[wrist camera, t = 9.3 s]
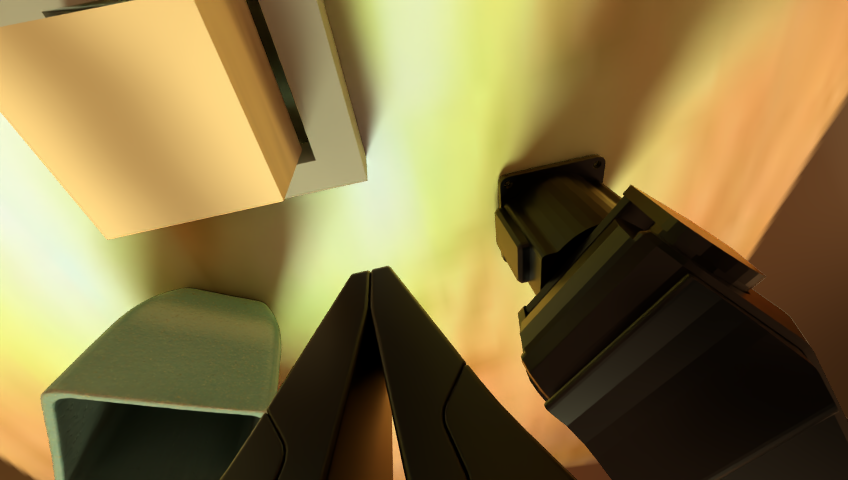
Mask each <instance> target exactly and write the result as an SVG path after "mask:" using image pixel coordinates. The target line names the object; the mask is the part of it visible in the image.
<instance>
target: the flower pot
mask: <svg viewBox="0 0 848 480" xmlns="http://www.w3.org/2000/svg"><path fill="white" fill-rule="evenodd" d="M280 358H281V334H280V330H279V326H278V323H277V320H276V318H275V316H274V314H273V313H272V311H271V310H270V309H269V307H268V306H267V305H266V304H265V303H263V302H260V301H255V300H250V299H244V298H239V297H234V296H228V295H223V294H218V293H214V292H209V291H204V290H199V289H194V288H182V289H178V290H173V291H169V292H166V293H163V294H160V295H157V296H155V297H153V298H150V299H148V300H146V301H144V302H142V303H141V304H139V305H137V306H136V307H134V308H133V309H131V310H130V311H128V312H127V313H126V314H124V315H123V316H122V317H120V318H119V319H118V320H117V321H116V322H115V323H113V324H112V325H111V326H110V327H109V328H108V329H107V330H106V331H105V332H104V333H103V334H102V335H101V336H100V337H99V338H98V339H97V340H96V341H95V342H94V343H93V344H92V345H91V346H89V347H88V348H87V349H86V350H85V351H84V352H83V353H82V354H81V355H80V356H79V357H78V358H77V359H76V360H75V361H74V362H73V363H72V364H71V365H70V366H69V367H68V368H67V369H66V370H65V371H64V372H63V373H62V374H61V375H60V376H59V377H58V378H57V379H56V380H55V381H54V382H53V383H52V384H51V385H50V386H49V387H48V388H47V389H46V390H45V391H44V392H43V393H42V394H41V405H42V410H43V415H44V420H45V425H46V428H47V429H46V430H47V435H48V438H49V444H50V445H49V446H50V451H51V454H52V461H53V470H54V477H55V480H220V478H221V477H222V476H223V474H224V473H225V472H226V470H227V469H228V467H229V466H230V464H231V463H232V461H233V460H234V458H235V457H236V455H237V454H238V452H239V451H240V449H241V448H242V446H243V445H244V443H245V442H246V440H247V439H248V437H249V436H250V434H251V433H252V431H253V429H254V428H255V426H256V425H257V423H258V421H259V420H260V418H261V417H262V415H263V414H264V413H267V411H266V410H267V407H268V406H269V404H270V403H271V401H272V400H273V398H274V396H275V395H276V393H277V390H278V380H279V369H280ZM267 414H268V413H267Z"/></svg>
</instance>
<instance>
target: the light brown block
mask: <svg viewBox="0 0 848 480" xmlns="http://www.w3.org/2000/svg"><path fill="white" fill-rule="evenodd" d="M0 112H1V113H2V114H3V116H4V117H5V118H6V119H7V120H8V122H9V123H10V124H11V125H12V126H13V128H14V129H15V130H16V131H17V132H18V134H19V135H20V136H21V137H22V138H23V140H24V141H25V142H26V143H27V144H28V146H29V147H30V148H31V149H32V150H33V152H34V153H35V154H36V155H37V156H38V158H39V159H40V160H41V161H42V162H43V164H44V165H45V166H46V167H47V168H48V170H49V171H50V172H51V173H52V174H53V176H54V177H55V178H56V179H57V180H58V182H59V183H60V184H61V185H62V186H63V188H64V189H65V190H66V191H67V192H68V193H69V195H70V196H71V197H72V198H73V199H74V201H75V202H76V203H77V204H78V205H79V207H80V208H81V209H82V210H83V211H84V213H85V214H86V215H87V216H88V217H89V219H90V220H91V221H92V222H93V223H94V225H95V226H96V227H97V228H98V229H99V231H100V232H101V233H102V234H103V235H104V237H105V238H106V239H107V240H109V239H113V238H118V237H123V236H127V235H132V234H136V233H141V232H145V231H150V230H154V229H159V228H164V227H168V226H173V225H177V224H182V223H186V222H191V221H196V220H200V219H205V218H209V217H214V216H218V215H223V214H227V213H232V212H237V211H241V210H246V209H250V208H255V207H259V206H264V205H268V204H273V203H278V202H282V201H284V199H285V196H286V193H287V191H288V188H289V185H290V182H291V179H292V177H293V174H294V171H295V168H296V165H297V163H298V160H299V157H300V154H301V151H302V148H301V145H300V143H299V140H298V137H297V135H296V132H295V129H294V127H293V124H292V121H291V119H290V116H289V114H288V111H287V108H286V106H285V103H284V100H283V98H282V95H281V92H280V90H279V87H278V84H277V82H276V79H275V76H274V74H273V71H272V69H271V66H270V63H269V61H268V58H267V55H266V53H265V50H264V47H263V45H262V42H261V39H260V37H259V34H258V31H257V29H256V26H255V23H254V21H253V18H252V16H251V13H250V10H249V8H248V5H247V2H246V0H133V1H128V2H123V3H118V4H113V5H108V6H103V7H98V8H93V9H88V10H83V11H78V12H73V13H68V14H63V15H58V16H53V17H48V18H43V19H38V20H33V21H28V22H22V23H17V24H12V25H7V26H2V27H0Z"/></svg>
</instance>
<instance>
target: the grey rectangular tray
mask: <svg viewBox="0 0 848 480" xmlns="http://www.w3.org/2000/svg"><path fill="white" fill-rule="evenodd" d="M128 1H133V0H0V27H2V26H7V25H12V24H17V23H22V22H28V21H33V20H38V19H43V18H48V17H53V16H58V15H63V14H68V13H73V12H78V11H83V10H88V9H93V8H98V7H103V6H108V5H113V4H118V3H123V2H128ZM258 1H259V4H260V7H261V10H262V13H263V15H264V18H265V21H266V24H267V26H268V29H269V32H270V35H271V37H272V40H273V43H274V46H275V49H276V51H277V54H278V57H279V60H280V62H281V65H282V68H283V71H284V73H285V76H286V79H287V82H288V85H289V87H290V90H291V93H292V96H293V98H294V101H295V104H296V107H297V109H298V112H299V115H300V118H301V121H302V123H303V126H304V129H305V132H306V134H307V137H308V140H309V142H305V143H300V145H301V148H302V151H301V154H300V157H299V160H298V163H297V165H296V168H295V171H294V174H293V177H292V179H291V182H290V185H289V188H288V191H287V193H286V196H285V199H286V198H291V197H295V196H300V195H304V194H309V193H313V192H318V191H322V190H327V189H332V188H336V187H341V186H345V185H350V184H354V183H359V182H364V181H367V164H366V155H365V152H364V148H363V144H362V141H361V137H360V133H359V130H358V126H357V122H356V119H355V115H354V111H353V108H352V104H351V100H350V97H349V93H348V89H347V86H346V82H345V78H344V75H343V71H342V67H341V64H340V60H339V56H338V53H337V49H336V45H335V42H334V38H333V34H332V31H331V27H330V23H329V20H328V16H327V12H326V9H325V5H324V1H323V0H258Z"/></svg>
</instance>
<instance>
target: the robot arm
mask: <svg viewBox="0 0 848 480" xmlns="http://www.w3.org/2000/svg"><path fill="white" fill-rule="evenodd" d="M596 161H598V162H597V164H596V165H595V166H593V165H594V163H595V162H596ZM604 169H605V159H604V158H603V157H601V156H600V155H591V156H586V157H582V158H577V159H573V160H568V161H564V162H559V163H554V164H550V165H545V166H541V167H536V168H532V169H527V170H523V171H518V172H514V173H509V174H505V175H503V176H502V177H500V179H499V181H498V194H499V208H498V209H497V210H496V212H495V225H496V242H497V245H498V247H499V248H500V250H501V255H502V257H503V259H504V261H506V262H507V263H508V264H509V266H510V268H511V270H512V272H513V273H514V275H515V277H516V279H517V280H518V281H519V282H521V283H524V282H528V283H529V284H530V286H531V288H532V289H533V291H534V293H535V294H536V296H535V297H534V298H533V299H532V301H531V302H530V303H529V304H528V305H527V306H524V307H523V308H522V309H521V310H520V311H519V312H518V318H519V325H520V336H521V341H522V348H523V354H522V355H521V358H522V363H523V365H524V367H525V368H526V372H527V374H528V377H529V379H530V381H531V383H532V384H533V386H534V387H535V389H536V390H537V392H538V393H539V394H540V395H541V397H542V398H543V399H544V400H545V401H546V402H545V403H544V406H545V408H546V409H547V410H548V411H549V412H550V413H551V414H552V415H554V416H555V417H556V418H557V419H559V420H560V421H561V422H562V423H564V424H565V425H566V426H567V427H568V428H569V429H570V430H571V431H572V432H573V433H574V434H575V435H576V436H577V437H578V438H579V439H580V440H581V441H582V442H583V443H584V444H585V446H586V447H587V448H588V449H589V451H590V452H591V453H592V454H593V456H594V457H595V458H596V459H597V461H598V462H599V463H600V465H601V466H602V467H603V469H604V470H605V471H606V473H607V474H608V475H609V477H610V478H611V479H612V480H848V419H847V418H846V417H845V415H844V413H843V411H842V409H841V407H840V405H839V402H838V400H837V398H836V396H835V395H834V392H833V390H832V388H831V386H830V384H829V382H828V380H827V378H826V375H825V373H824V371H823V369H822V367H821V365H820V364H819V361H818V359H817V357H816V355H815V353H814V351H813V350H812V348H811V347H810V345H809V344H808V342H807V341H806V339H805V338H804V336H803V335H802V333H801V332H800V330H799V329H798V327H797V326H796V324H795V323H794V321H793V320H792V319H791V317H790V316H789V315H788V314H787V313H785V312H784V311H783V310H781V309H780V308H779V307H777V306H776V305H774V304H773V303H772V302H770V301H769V300H767V299H766V298H764V297H763V296H762V295H760V294H759V293H757V292H756V291H755V290H753V289H752V288H753V287H754V286H756V285H757V284H758V283H759V282H761V281H762V280H763V279H764V278H766V276H765V275H764V274H763V273H762V272H760V271H759V270H758V269H757V268H755V267H754V266H753V265H752V264H750V263H749V262H748V261H747V260H746V259H744V258H743V257H742V256H741V255H740V254H738V253H737V252H736V251H735V250H733V249H732V248H731V247H729V246H728V245H726V244H725V243H723V242H722V241H720V240H719V239H717V238H716V237H714V236H713V235H711V234H710V233H708V232H707V231H705V230H704V229H702V228H701V227H699V226H698V225H696V224H695V223H693V222H692V221H690V220H688V219H687V218H685V217H684V216H682V215H680V214H679V213H677V212H675V211H674V210H672V209H670V208H669V207H667V206H665V205H664V204H662V203H660V202H659V201H657V200H655V199H654V198H652V197H650V196H649V195H647V194H646V193H644V192H642V191H641V190H639V189H637V188H636V187H634V186H632V185H630V186H629V187H628V189H627V190H626V191H625V192H624V193H623V195H624V197H623V198H621V197H620V196H618V195H617V194H616V193H614V192H613V191H612V190H611V189H609V188H608V187H607V186H605V185H604V184H603V176H604ZM507 181H510V183H509V184H508V185H506V186H504V184H505V182H507ZM266 411H267V413H268V414H267V413H264V414H263V415H262V417H261V418H260V420H259V421H258V423H257V425H256V426H255V428H254V429H253V431H252V433H251V434H250V436H249V437H248V439H247V440H246V442H245V443H244V445H243V446H242V448H241V449H240V451H239V452H238V454H237V455H236V457H235V458H234V460H233V461H232V463H231V464H230V466H229V467H228V469H227V470H226V472H225V473H224V474H223V476H222V477H221V478H220V480H393V453H392V417H393V421H394V426H395V431H396V436H397V440H398V445H399V450H400V454H401V459H402V464H403V469H404V473H405V478H406V480H577V479H576V478H575V477H574V476H573V475H572V474H571V473H570V472H568V471H567V470H566V469H565V468H564V467H563V466H562V465H561V464H560V463H559V462H558V461H557V460H556V459H555V458H554V457H553V456H552V455H551V454H550V453H549V452H548V451H547V450H546V449H545V448H544V447H543V446H542V445H541V444H540V443H539V442H538V441H537V440H536V439H535V438H534V437H533V436H532V435H530V434H529V433H528V432H527V431H526V430H525V429H524V428H523V427H522V426H521V425H520V424H519V423H518V421H517V420H516V419H515V418H514V417H513V416H512V415H511V414H510V413H509V412H508V411H507V410H506V409H505V408H504V407H503V406H502V405H501V404H500V403H499V402H498V401H497V399H496V398H495V397H494V396H493V395H492V393H491V392H490V391H489V390H488V389H487V388H486V386H485V385H484V384H483V383H482V382H481V381H480V379H479V378H478V377H477V376H476V374H475V373H474V372H473V370H472V369H471V368H470V367H469V366H468V365H466V362H465V361H464V359H463V358H462V357H461V356H460V354H459V353H458V352H457V351H456V349H455V348H454V347H453V346H452V344H451V343H450V342H449V340H448V339H447V338H446V337H445V335H444V334H443V333H442V332H441V330H440V329H439V328H438V327H437V325H436V324H435V323H434V322H433V320H432V319H431V318H430V316H429V315H428V314H427V313H426V311H425V310H424V309H423V308H422V306H421V305H420V304H419V303H418V301H417V300H416V299H415V297H414V296H413V295H412V294H411V292H410V291H409V290H408V289H407V287H406V286H405V285H404V284H403V282H402V281H401V280H400V278H399V277H398V276H397V275H396V273H395V272H394V271H393V270H392V268H391V267H389V266H385V267H381V268H376V269H373V270H372V271H371V272H370V271H363V272H359V273H354V274H352V275H351V276H350V278H349V279H348V281H347V282H346V284H345V285H344V287H343V289H342V290H341V292H340V293H339V295H338V297H337V298H336V300H335V301H334V303H333V304H332V306H331V308H330V309H329V311H328V312H327V314H326V316H325V317H324V319H323V320H322V322H321V324H320V325H319V327H318V328H317V330H316V331H315V333H314V335H313V336H312V338H311V339H310V341H309V343H308V344H307V346H306V347H305V349H304V350H303V352H302V354H301V355H300V357H299V358H298V360H297V362H296V363H295V365H294V366H293V368H292V369H291V371H290V373H289V374H288V376H287V377H286V379H285V381H284V382H283V384H282V385H281V387H280V388H279V390H278V392H277V393H276V395H275V396H274V398H273V400H272V401H271V403H270V404H269V406H268V407H267V410H266Z"/></svg>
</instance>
